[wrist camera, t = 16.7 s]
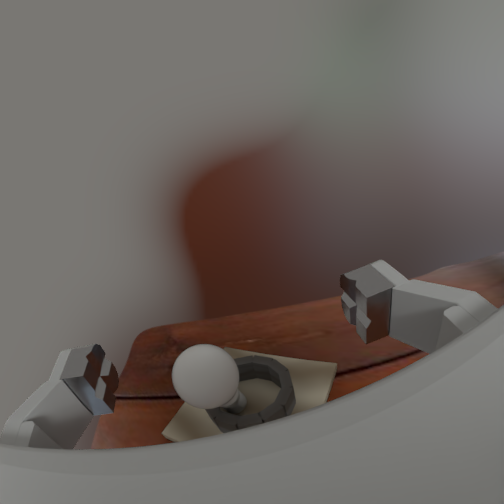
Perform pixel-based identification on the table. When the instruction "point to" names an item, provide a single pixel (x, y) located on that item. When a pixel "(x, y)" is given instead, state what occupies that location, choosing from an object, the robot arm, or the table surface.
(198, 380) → the lightbulb
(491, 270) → the table surface
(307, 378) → the jig
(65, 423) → the robot arm
